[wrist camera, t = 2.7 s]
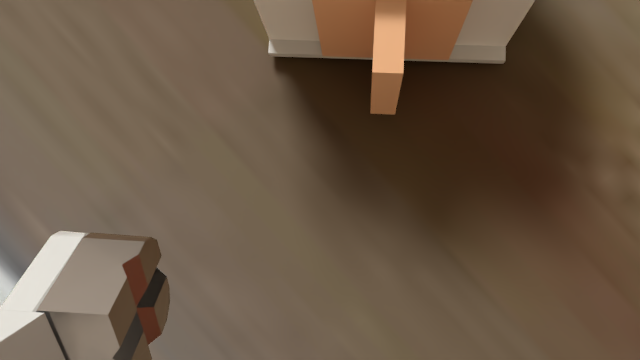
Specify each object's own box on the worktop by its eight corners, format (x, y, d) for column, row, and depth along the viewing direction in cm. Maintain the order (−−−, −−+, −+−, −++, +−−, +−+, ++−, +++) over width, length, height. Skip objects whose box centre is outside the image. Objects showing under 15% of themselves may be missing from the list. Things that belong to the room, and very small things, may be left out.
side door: (319, 113, 38) (306, 70, 30) (323, 44, 39) (312, -17, 31) (446, 118, 38) (470, 75, 29) (448, 48, 38) (472, -13, 30)
